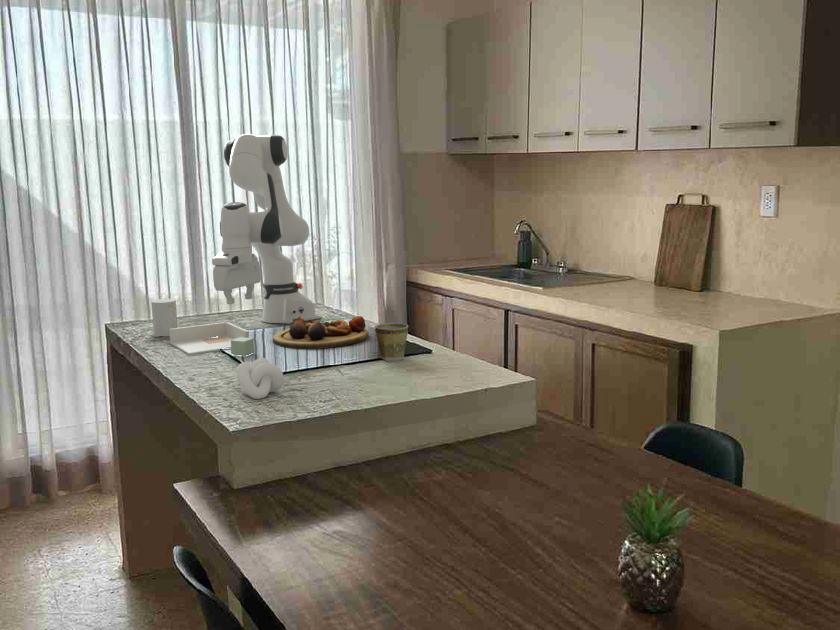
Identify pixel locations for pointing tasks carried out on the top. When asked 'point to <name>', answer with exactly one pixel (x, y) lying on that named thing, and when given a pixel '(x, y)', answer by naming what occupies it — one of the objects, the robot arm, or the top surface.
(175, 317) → the cup
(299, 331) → the wooden plate with food
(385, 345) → the ceramic cup
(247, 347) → the cube
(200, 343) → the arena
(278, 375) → the white knot sculpture
